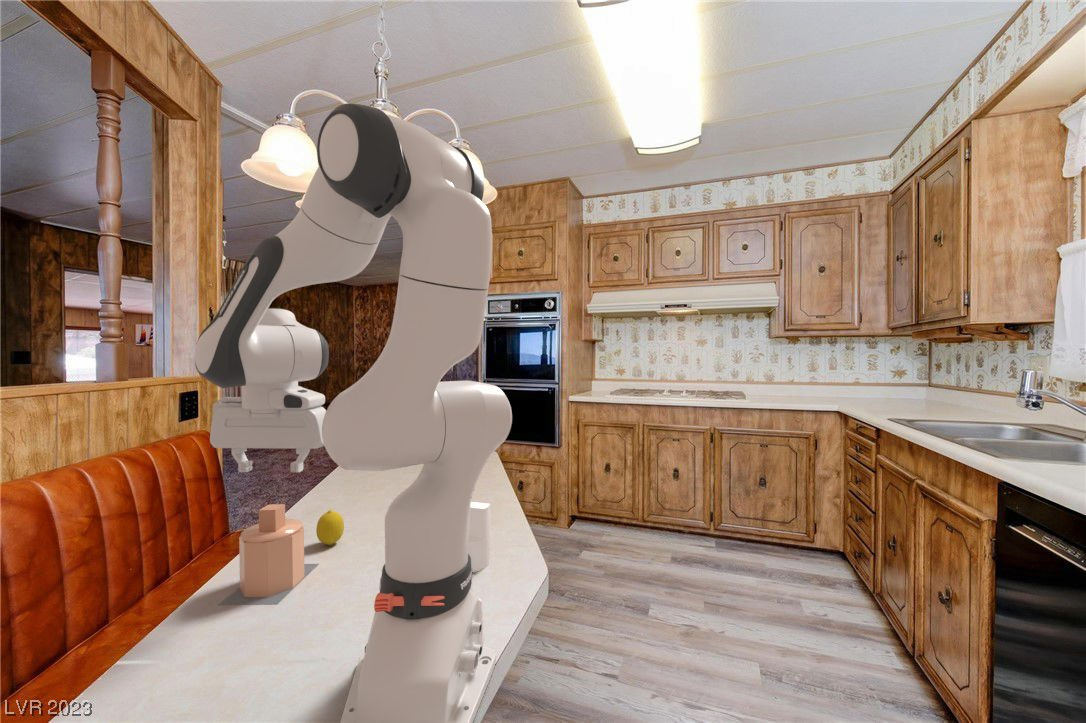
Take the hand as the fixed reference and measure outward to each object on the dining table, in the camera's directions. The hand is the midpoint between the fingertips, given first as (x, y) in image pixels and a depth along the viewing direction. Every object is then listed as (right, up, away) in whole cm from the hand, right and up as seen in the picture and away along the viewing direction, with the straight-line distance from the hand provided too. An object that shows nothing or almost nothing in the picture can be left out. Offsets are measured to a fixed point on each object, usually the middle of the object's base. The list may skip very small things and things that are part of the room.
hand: (271, 471), depth 79 cm
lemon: (+3, -21, +16) cm, 27 cm away
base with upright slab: (+35, -21, +9) cm, 42 cm away
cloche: (0, -21, 0) cm, 21 cm away
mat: (0, -21, 0) cm, 21 cm away
